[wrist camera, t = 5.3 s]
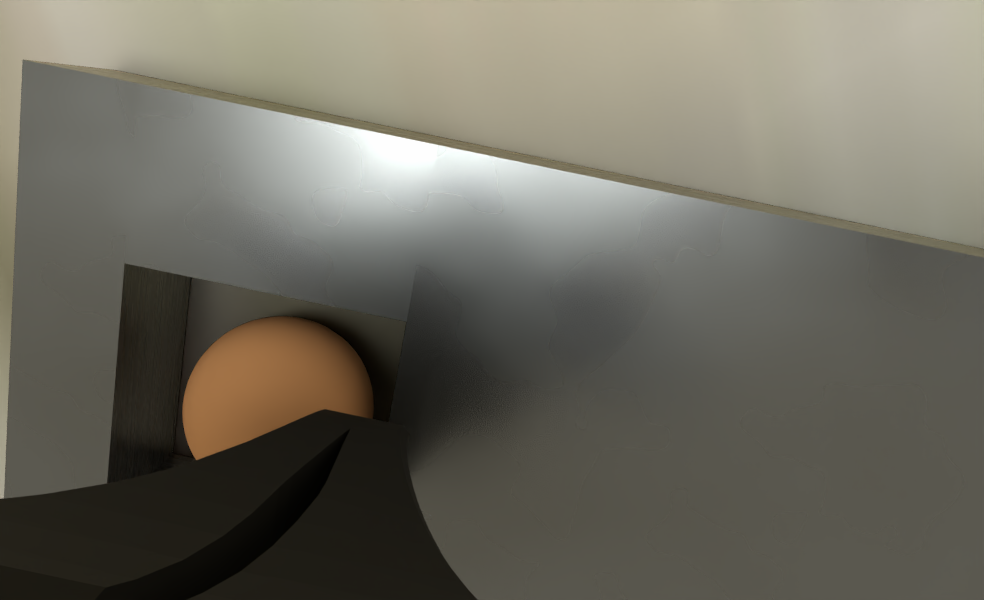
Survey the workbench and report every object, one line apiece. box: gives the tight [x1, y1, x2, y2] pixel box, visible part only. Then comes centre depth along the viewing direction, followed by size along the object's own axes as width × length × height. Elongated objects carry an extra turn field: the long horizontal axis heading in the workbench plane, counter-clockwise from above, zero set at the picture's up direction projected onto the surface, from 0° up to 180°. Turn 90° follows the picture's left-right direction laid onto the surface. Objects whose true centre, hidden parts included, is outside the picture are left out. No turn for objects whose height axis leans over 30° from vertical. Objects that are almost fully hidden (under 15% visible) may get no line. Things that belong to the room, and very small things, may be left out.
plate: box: [4, 60, 984, 600], centre depth 13 cm, size 18×10×2 cm, turn 79°
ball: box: [182, 316, 374, 460], centre depth 13 cm, size 3×3×3 cm
